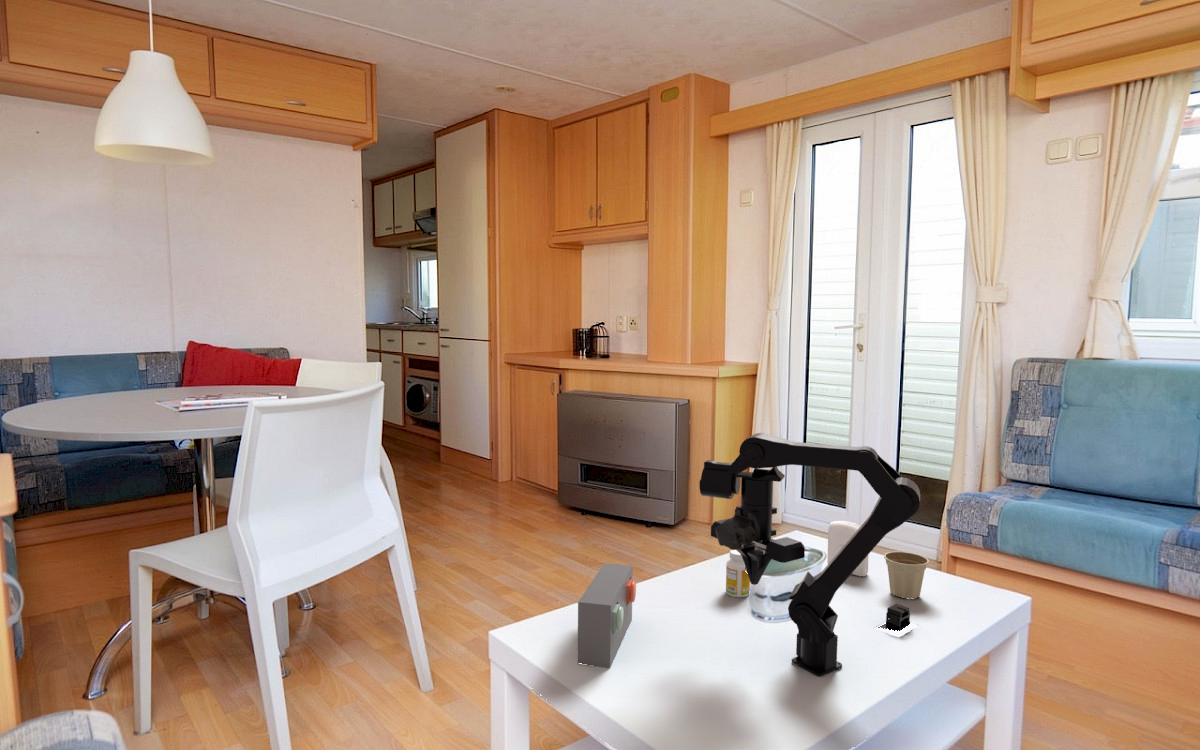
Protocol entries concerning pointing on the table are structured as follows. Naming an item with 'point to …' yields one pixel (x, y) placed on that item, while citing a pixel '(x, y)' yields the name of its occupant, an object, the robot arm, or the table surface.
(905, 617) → the black grooved cube
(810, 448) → the robot arm
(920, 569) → the flower pot
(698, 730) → the table surface
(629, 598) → the button red
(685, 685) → the table surface
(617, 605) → the button green
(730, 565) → the supplement bottle
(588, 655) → the control box
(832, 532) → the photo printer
